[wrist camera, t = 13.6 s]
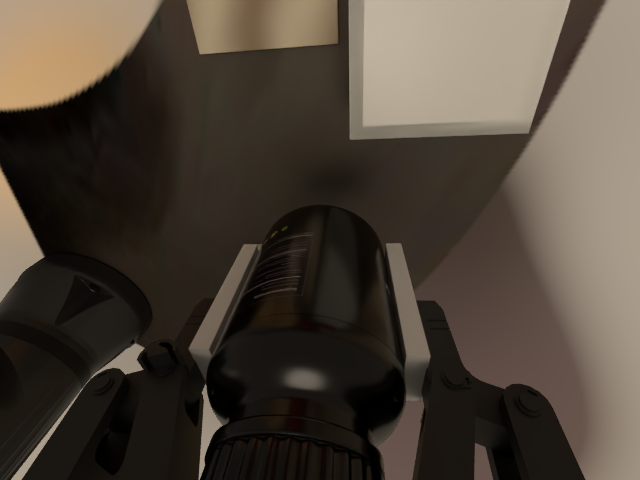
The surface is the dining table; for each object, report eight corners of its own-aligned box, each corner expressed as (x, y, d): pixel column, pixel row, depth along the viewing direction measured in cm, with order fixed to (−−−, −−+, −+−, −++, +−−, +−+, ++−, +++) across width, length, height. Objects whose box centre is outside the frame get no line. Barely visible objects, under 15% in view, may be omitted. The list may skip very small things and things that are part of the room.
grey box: (352, 104, 22) (349, 139, 14) (352, -37, 18) (347, -106, 10) (462, 99, 21) (528, 133, 13) (490, -52, 17) (615, -143, 9)
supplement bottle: (406, 261, 17) (493, 579, 7) (317, 310, 20) (285, 586, 10) (329, 172, 14) (285, 470, 4) (240, 244, 17) (86, 524, 7)
